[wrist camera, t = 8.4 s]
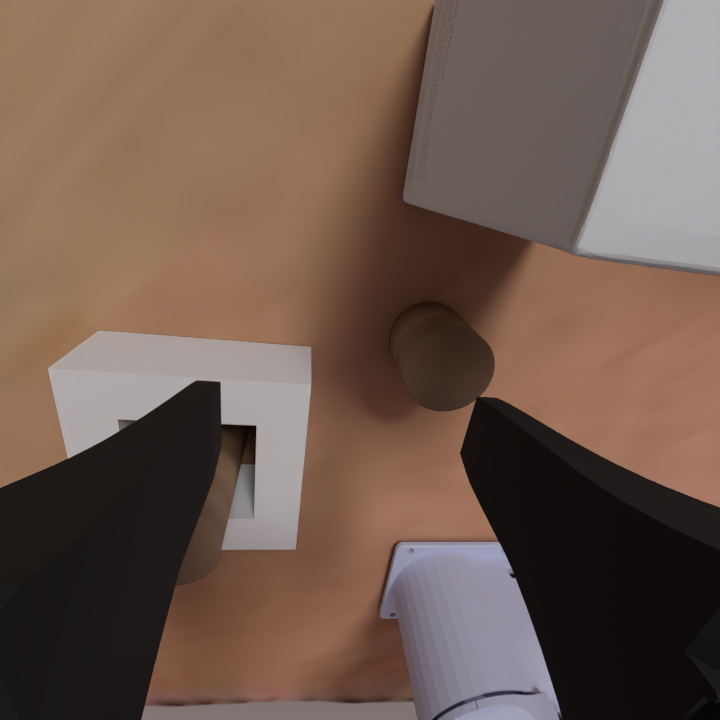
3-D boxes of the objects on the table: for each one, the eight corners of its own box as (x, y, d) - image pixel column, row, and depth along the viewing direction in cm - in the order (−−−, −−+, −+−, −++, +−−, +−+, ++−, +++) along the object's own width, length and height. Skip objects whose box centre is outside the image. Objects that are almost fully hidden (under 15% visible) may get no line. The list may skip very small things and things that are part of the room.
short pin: (470, 305, 20) (505, 334, 17) (452, 373, 22) (481, 413, 18) (396, 297, 19) (415, 326, 16) (383, 369, 21) (398, 409, 18)
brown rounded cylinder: (250, 394, 21) (220, 510, 14) (248, 454, 22) (220, 585, 15) (170, 389, 20) (95, 509, 13) (175, 451, 22) (110, 587, 15)
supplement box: (397, 204, 18) (555, 260, 6) (433, -8, 14) (879, -661, 3) (545, 226, 19) (903, 307, 7) (607, 35, 16) (1380, -324, 4)
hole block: (310, 346, 20) (311, 384, 16) (297, 493, 24) (295, 549, 21) (98, 330, 18) (47, 368, 15) (123, 490, 23) (88, 550, 19)
